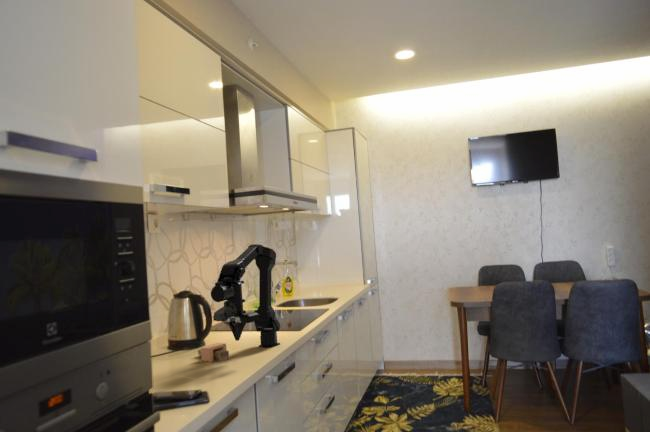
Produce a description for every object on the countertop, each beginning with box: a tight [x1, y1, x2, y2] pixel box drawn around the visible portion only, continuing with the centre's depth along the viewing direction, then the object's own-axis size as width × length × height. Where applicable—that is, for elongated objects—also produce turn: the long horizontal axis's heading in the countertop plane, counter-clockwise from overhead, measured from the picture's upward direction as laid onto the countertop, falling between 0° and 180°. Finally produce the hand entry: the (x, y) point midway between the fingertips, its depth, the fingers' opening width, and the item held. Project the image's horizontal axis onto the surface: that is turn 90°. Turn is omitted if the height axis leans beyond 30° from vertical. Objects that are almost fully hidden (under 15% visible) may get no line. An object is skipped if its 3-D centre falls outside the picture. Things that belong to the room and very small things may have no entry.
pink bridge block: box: [200, 342, 228, 362], centre depth 179 cm, size 8×5×5 cm, turn 144°
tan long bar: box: [197, 348, 230, 362], centre depth 180 cm, size 15×3×3 cm, turn 52°
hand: (237, 340), depth 173 cm, fingers closed
